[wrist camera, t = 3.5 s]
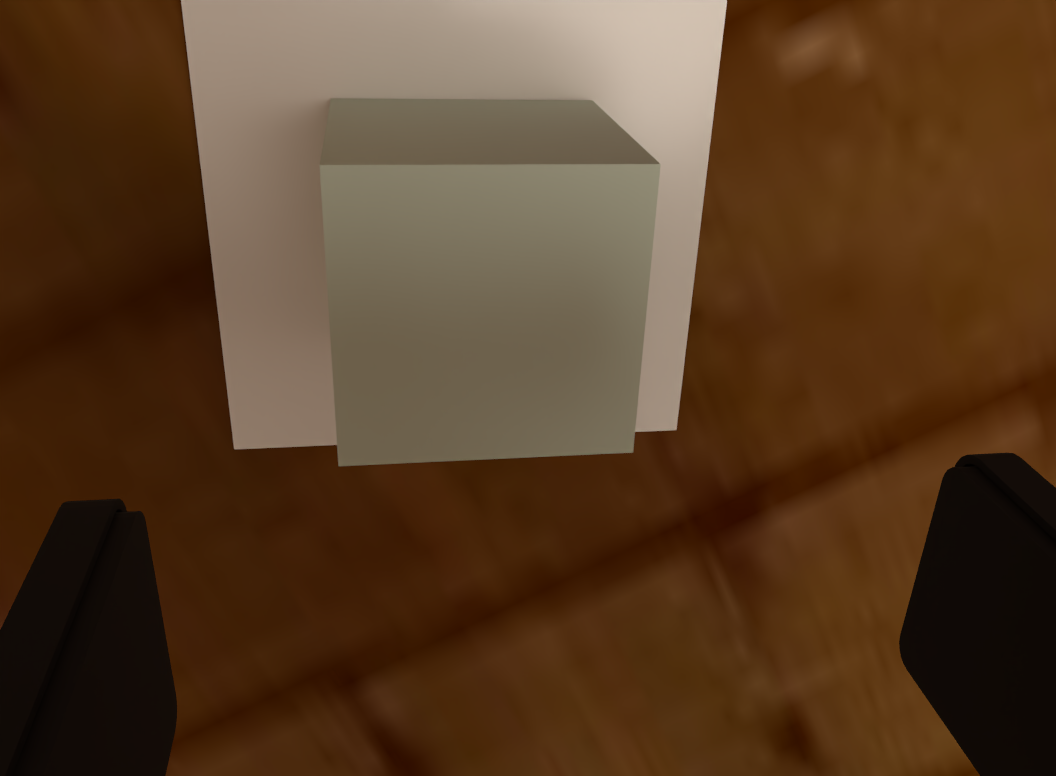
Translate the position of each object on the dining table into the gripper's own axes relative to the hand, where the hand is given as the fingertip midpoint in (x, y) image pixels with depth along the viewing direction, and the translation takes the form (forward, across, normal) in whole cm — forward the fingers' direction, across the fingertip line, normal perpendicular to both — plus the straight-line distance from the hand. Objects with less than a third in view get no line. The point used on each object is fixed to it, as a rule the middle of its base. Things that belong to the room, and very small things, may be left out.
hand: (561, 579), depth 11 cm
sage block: (+14, 0, 0) cm, 14 cm away
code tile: (+14, 0, 0) cm, 14 cm away
